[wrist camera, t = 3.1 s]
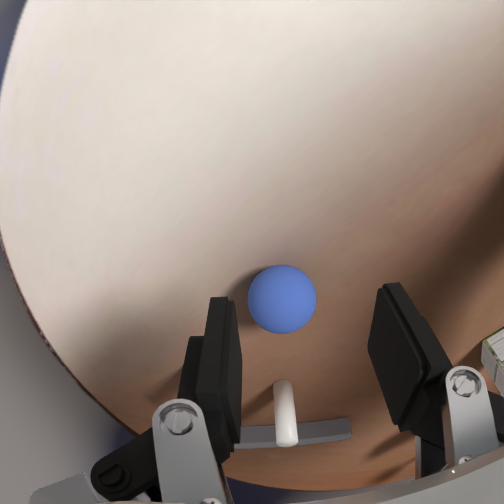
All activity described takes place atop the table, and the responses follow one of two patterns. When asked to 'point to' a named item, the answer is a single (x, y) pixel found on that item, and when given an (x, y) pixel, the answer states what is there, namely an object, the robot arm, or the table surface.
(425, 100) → the table surface
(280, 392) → the white pin
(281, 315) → the ball
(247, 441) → the stopper wall
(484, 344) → the syrup box
